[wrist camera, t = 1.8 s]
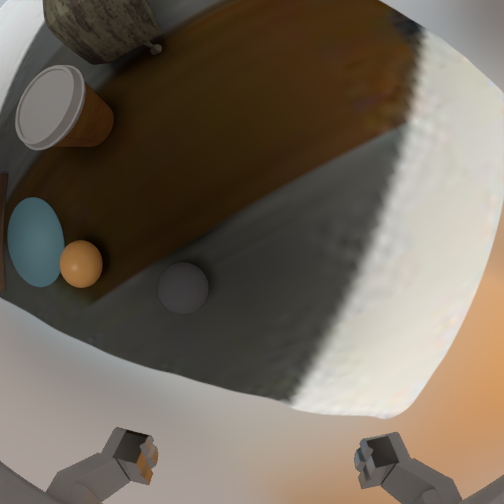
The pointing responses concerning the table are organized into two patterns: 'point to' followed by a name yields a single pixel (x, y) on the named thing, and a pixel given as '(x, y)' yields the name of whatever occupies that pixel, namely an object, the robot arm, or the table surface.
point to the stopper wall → (2, 228)
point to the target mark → (35, 242)
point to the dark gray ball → (182, 288)
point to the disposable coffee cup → (62, 111)
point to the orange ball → (81, 264)
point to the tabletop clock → (102, 27)
